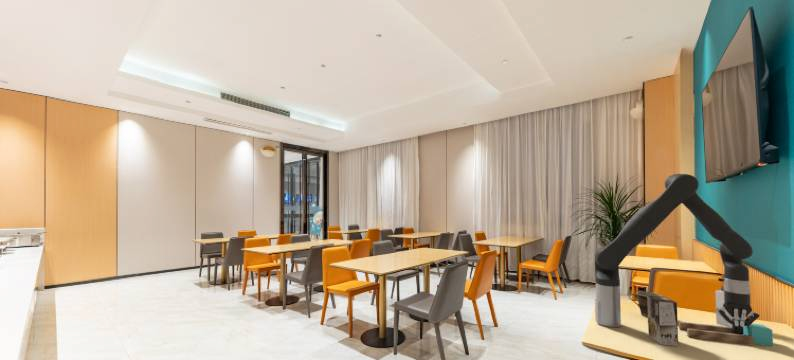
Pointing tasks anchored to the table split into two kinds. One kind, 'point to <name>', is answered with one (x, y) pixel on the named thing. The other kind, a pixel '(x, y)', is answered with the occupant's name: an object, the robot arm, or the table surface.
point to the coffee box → (662, 320)
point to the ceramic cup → (643, 301)
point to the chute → (715, 333)
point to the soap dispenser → (721, 305)
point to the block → (759, 334)
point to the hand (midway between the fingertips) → (738, 335)
